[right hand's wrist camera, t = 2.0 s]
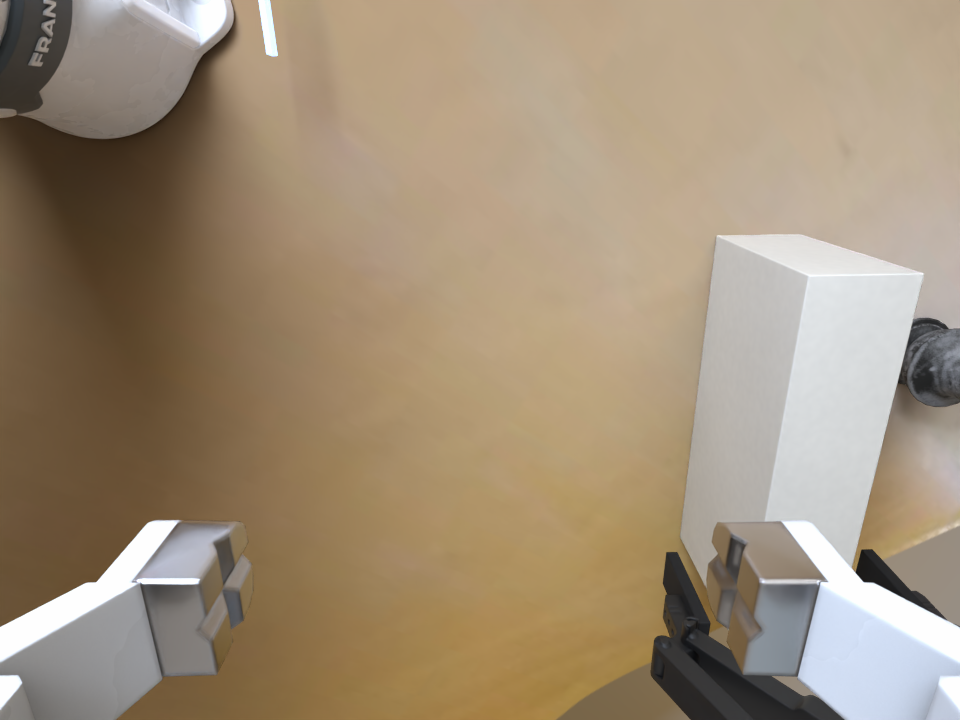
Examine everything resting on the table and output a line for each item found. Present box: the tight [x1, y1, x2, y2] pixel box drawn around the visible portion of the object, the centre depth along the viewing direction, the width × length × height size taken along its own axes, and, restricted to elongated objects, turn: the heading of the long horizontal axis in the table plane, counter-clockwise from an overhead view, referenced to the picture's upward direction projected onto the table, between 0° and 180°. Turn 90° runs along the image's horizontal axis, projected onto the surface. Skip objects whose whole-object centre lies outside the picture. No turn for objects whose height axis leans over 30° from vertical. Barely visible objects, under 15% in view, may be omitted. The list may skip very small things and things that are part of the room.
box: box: [680, 234, 924, 631], centre depth 41 cm, size 25×6×12 cm, turn 1°
